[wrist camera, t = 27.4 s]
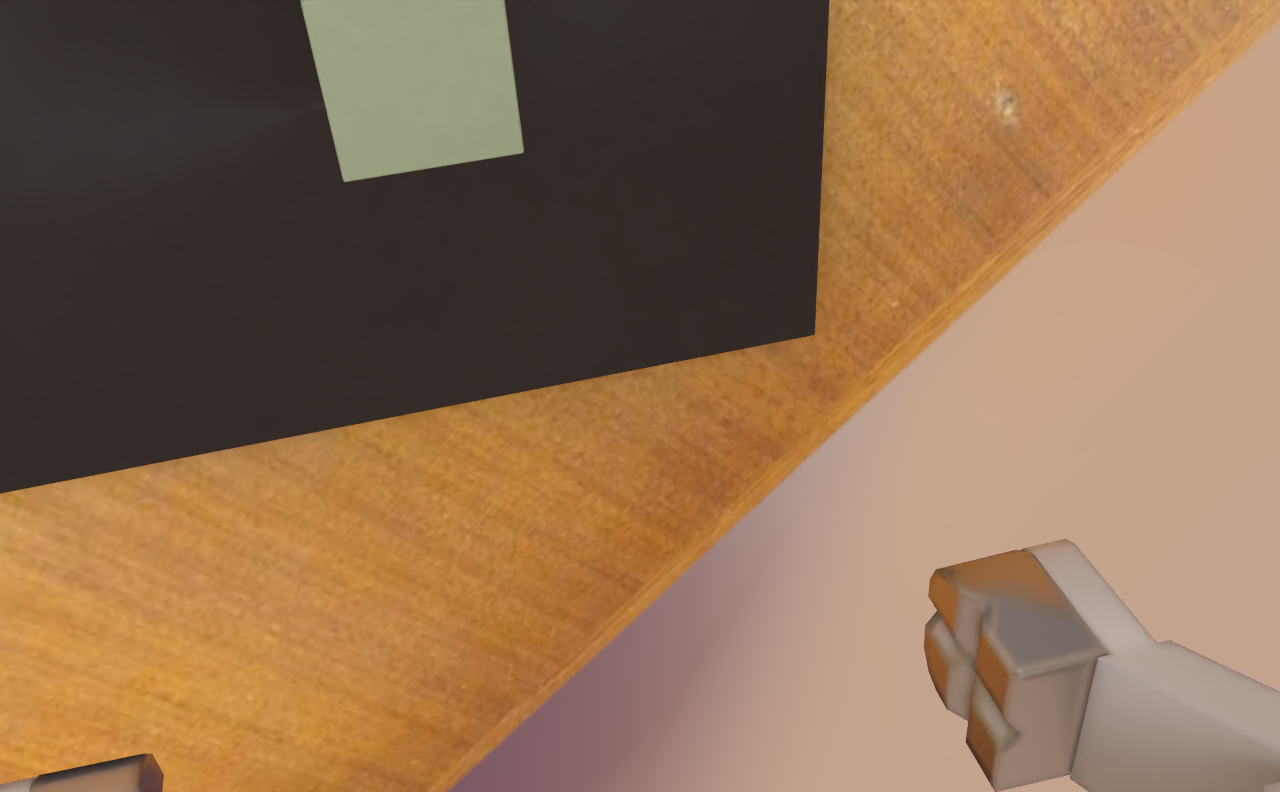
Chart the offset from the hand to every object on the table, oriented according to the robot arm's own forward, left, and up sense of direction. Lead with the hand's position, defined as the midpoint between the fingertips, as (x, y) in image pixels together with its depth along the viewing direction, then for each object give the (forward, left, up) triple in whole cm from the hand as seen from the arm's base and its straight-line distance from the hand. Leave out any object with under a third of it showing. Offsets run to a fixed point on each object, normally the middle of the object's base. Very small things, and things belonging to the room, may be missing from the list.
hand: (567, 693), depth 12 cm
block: (0, 0, -24) cm, 24 cm away
